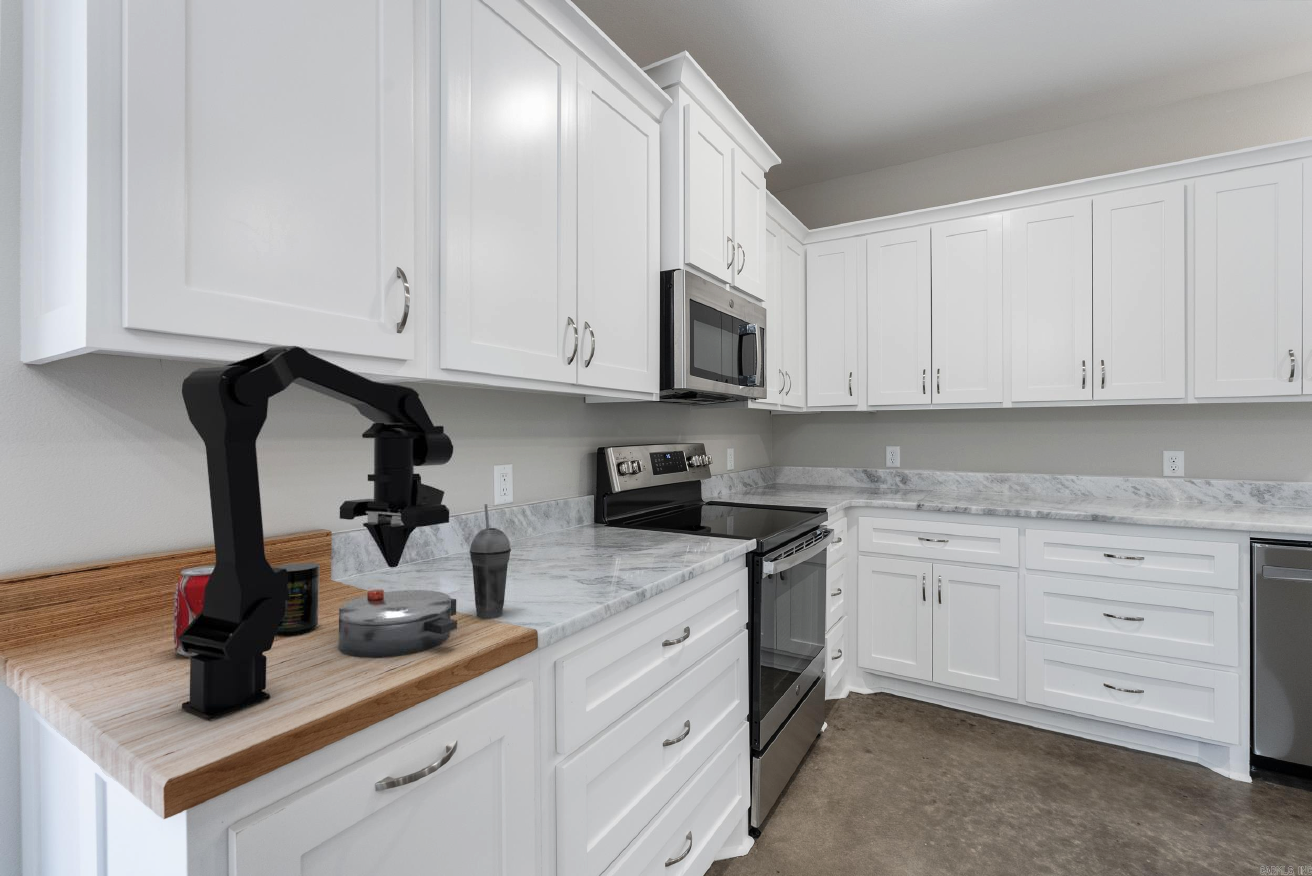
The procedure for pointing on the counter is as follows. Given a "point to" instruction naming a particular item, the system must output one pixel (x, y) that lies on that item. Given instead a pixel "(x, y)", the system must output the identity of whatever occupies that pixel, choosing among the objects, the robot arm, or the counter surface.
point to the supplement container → (301, 599)
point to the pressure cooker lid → (394, 607)
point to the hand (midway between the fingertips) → (393, 566)
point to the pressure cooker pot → (396, 636)
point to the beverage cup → (489, 570)
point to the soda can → (189, 600)
